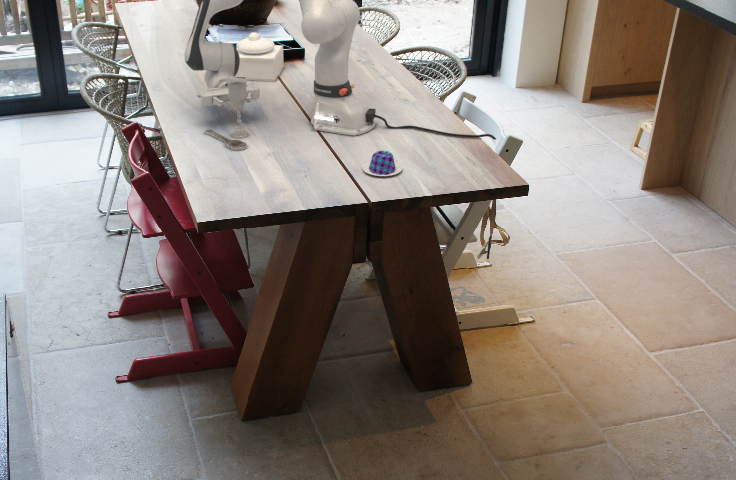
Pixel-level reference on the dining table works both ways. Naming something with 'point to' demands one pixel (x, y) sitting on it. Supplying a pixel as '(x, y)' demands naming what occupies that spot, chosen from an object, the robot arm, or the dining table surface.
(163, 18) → the dining table surface
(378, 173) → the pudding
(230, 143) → the spoon
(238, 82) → the chalice
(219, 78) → the robot arm
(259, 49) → the white square lidded jar
